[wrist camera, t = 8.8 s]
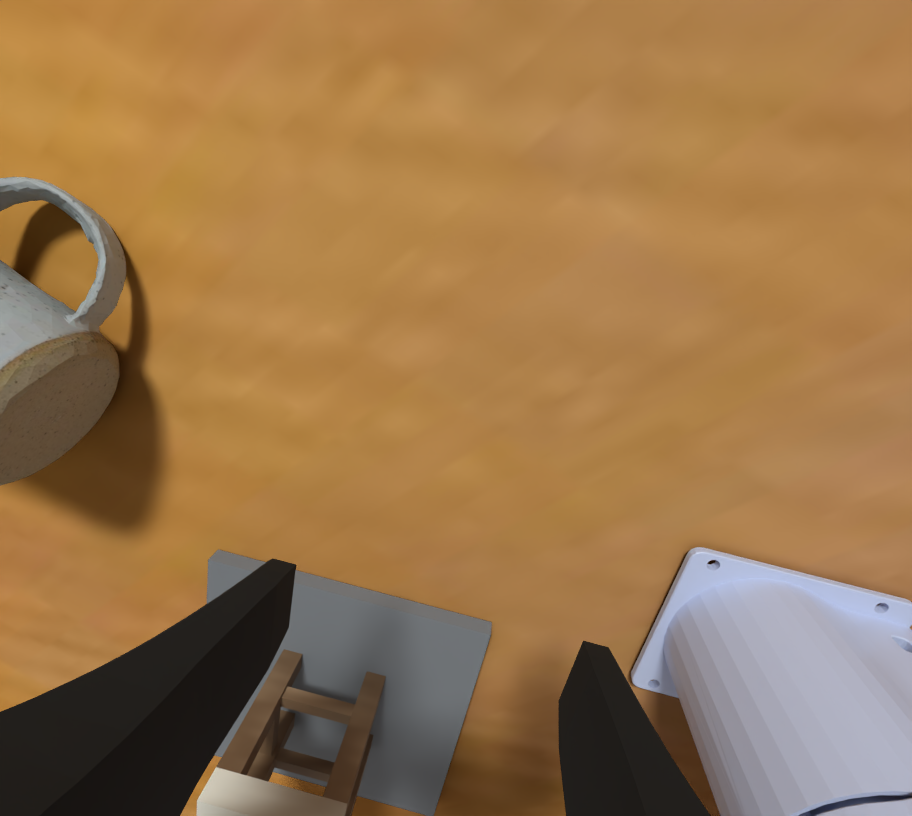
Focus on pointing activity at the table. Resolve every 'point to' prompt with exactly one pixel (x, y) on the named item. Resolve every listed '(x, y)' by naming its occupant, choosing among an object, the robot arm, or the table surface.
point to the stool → (262, 749)
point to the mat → (382, 652)
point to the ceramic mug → (54, 346)
